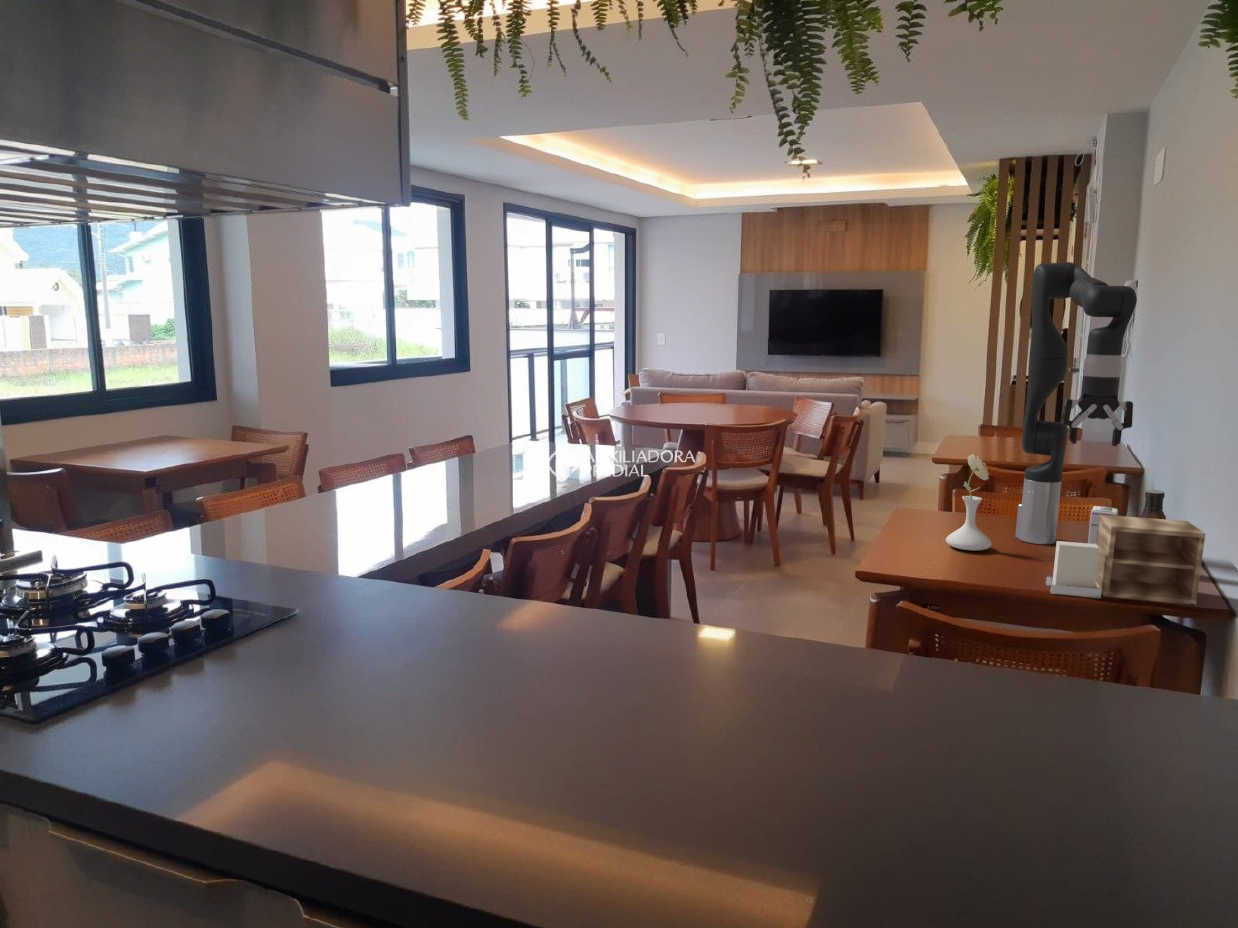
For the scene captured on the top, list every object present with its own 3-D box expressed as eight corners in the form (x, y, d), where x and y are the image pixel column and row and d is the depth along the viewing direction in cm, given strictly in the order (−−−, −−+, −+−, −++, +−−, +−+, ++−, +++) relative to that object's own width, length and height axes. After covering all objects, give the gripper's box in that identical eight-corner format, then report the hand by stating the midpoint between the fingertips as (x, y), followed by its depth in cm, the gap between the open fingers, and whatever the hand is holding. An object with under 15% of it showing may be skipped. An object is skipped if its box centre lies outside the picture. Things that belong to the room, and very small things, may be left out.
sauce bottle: (1155, 567, 220) (1164, 489, 216) (1167, 574, 214) (1178, 494, 210) (1127, 565, 220) (1136, 488, 217) (1139, 573, 214) (1149, 493, 211)
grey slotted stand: (1051, 593, 197) (1051, 585, 197) (1045, 584, 204) (1046, 576, 204) (1100, 598, 194) (1101, 589, 194) (1093, 589, 201) (1094, 580, 201)
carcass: (1103, 596, 196) (1111, 526, 193) (1091, 580, 207) (1099, 514, 205) (1195, 605, 191) (1205, 533, 188) (1178, 588, 202) (1187, 521, 199)
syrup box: (1111, 569, 217) (1118, 512, 214) (1084, 565, 220) (1091, 509, 217) (1113, 564, 222) (1119, 508, 219) (1086, 560, 225) (1092, 505, 222)
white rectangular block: (1054, 591, 199) (1059, 544, 197) (1051, 587, 202) (1056, 540, 200) (1093, 595, 196) (1099, 547, 194) (1090, 591, 200) (1095, 544, 198)
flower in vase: (995, 555, 228) (1003, 460, 224) (948, 552, 230) (956, 458, 226) (984, 542, 241) (993, 452, 236) (941, 540, 243) (948, 450, 239)
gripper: (1070, 374, 200) (1063, 445, 202) (1140, 376, 196) (1132, 448, 198) (1064, 372, 207) (1057, 440, 209) (1132, 374, 203) (1124, 444, 205)
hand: (1093, 444), depth 204 cm, fingers open, 8 cm apart
